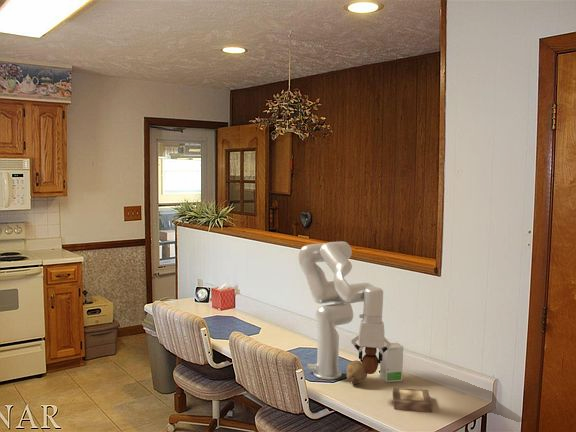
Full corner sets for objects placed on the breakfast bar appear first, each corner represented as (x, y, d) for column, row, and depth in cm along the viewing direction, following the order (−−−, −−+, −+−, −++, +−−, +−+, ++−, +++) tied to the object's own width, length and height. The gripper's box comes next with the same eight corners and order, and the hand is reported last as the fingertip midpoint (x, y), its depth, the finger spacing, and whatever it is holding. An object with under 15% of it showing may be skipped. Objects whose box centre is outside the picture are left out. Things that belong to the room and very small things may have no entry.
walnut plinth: (394, 408, 209) (394, 400, 209) (392, 394, 223) (392, 386, 223) (431, 411, 207) (431, 403, 207) (427, 397, 221) (427, 389, 221)
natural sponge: (368, 381, 237) (369, 359, 236) (364, 388, 228) (365, 365, 228) (348, 378, 240) (348, 356, 239) (343, 385, 232) (344, 362, 231)
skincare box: (385, 382, 236) (386, 347, 234) (378, 377, 242) (379, 343, 241) (403, 381, 238) (404, 346, 237) (396, 375, 244) (397, 341, 243)
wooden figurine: (367, 368, 224) (369, 333, 222) (380, 372, 220) (382, 336, 219) (358, 373, 219) (360, 336, 217) (371, 377, 215) (373, 340, 213)
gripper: (350, 319, 215) (348, 363, 216) (394, 322, 212) (392, 366, 214) (350, 314, 222) (348, 356, 224) (394, 317, 220) (391, 360, 221)
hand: (370, 361), depth 219 cm, fingers closed on wooden figurine, 6 cm apart
